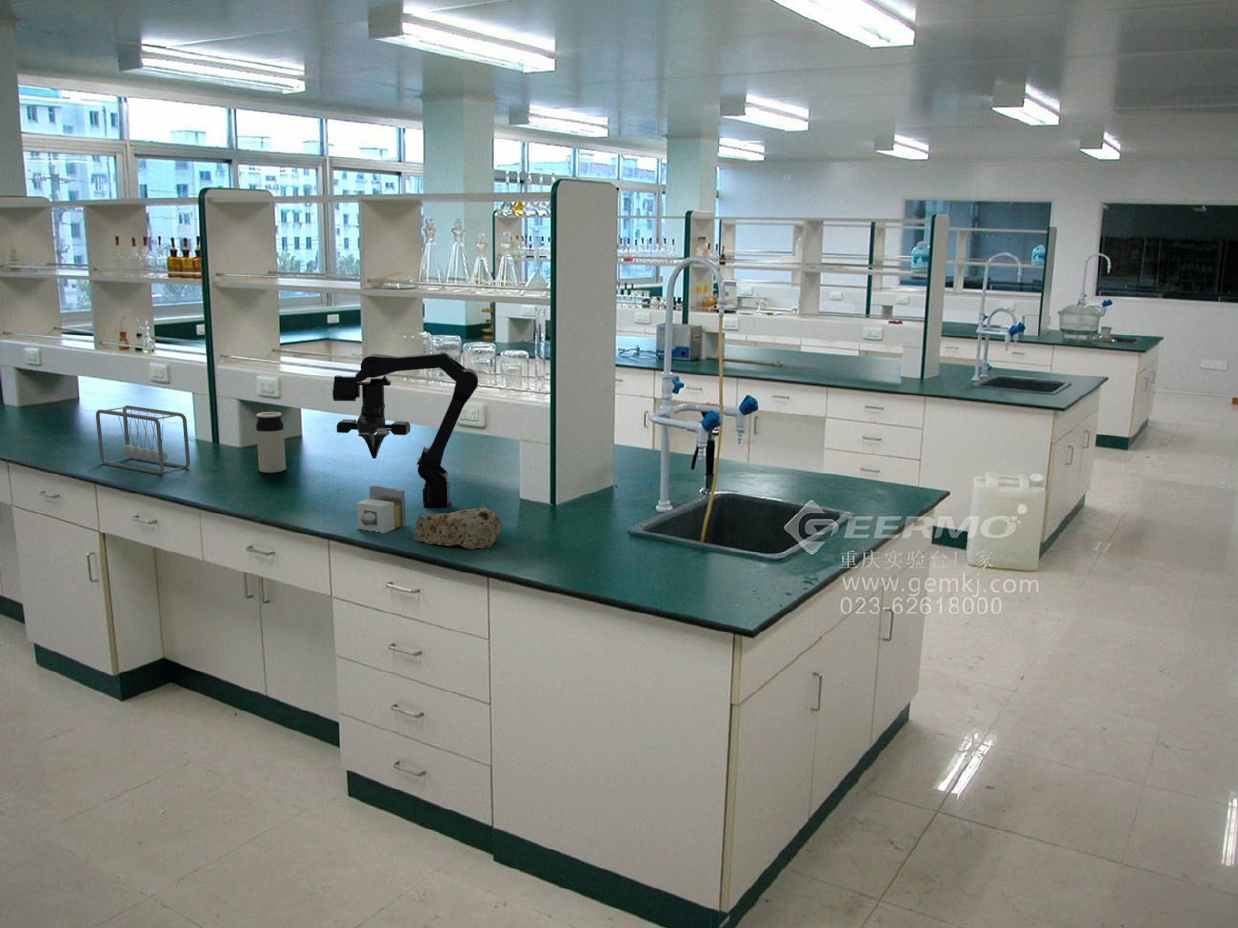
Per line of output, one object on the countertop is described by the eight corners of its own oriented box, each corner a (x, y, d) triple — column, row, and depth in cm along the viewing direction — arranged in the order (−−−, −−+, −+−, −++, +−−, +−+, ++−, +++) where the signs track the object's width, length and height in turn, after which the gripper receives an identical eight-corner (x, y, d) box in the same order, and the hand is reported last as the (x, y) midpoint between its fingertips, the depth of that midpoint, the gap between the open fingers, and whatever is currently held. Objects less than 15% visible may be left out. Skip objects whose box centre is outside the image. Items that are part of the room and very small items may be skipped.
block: (369, 524, 256) (368, 498, 255) (394, 528, 253) (393, 502, 251) (358, 529, 252) (356, 502, 251) (383, 533, 249) (382, 506, 247)
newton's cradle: (191, 469, 313) (186, 413, 309) (162, 475, 304) (157, 418, 300) (129, 458, 327) (124, 404, 323) (99, 464, 318) (94, 409, 314)
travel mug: (291, 469, 314) (288, 413, 310) (270, 474, 307) (266, 417, 303) (274, 466, 318) (271, 410, 314) (253, 471, 312) (249, 414, 308)
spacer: (372, 521, 258) (371, 500, 257) (401, 526, 254) (400, 504, 253) (367, 523, 256) (366, 502, 255) (396, 528, 253) (395, 506, 251)
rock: (406, 548, 241) (407, 506, 242) (440, 545, 255) (440, 506, 255) (479, 550, 233) (480, 507, 233) (510, 548, 246) (511, 507, 247)
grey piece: (374, 519, 259) (372, 485, 257) (405, 524, 255) (404, 490, 253) (350, 528, 251) (348, 494, 249) (382, 533, 247) (381, 498, 245)
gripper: (329, 405, 260) (331, 463, 263) (400, 407, 260) (401, 466, 263) (342, 398, 271) (343, 454, 274) (410, 401, 271) (411, 457, 274)
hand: (374, 458), depth 271 cm, fingers closed
